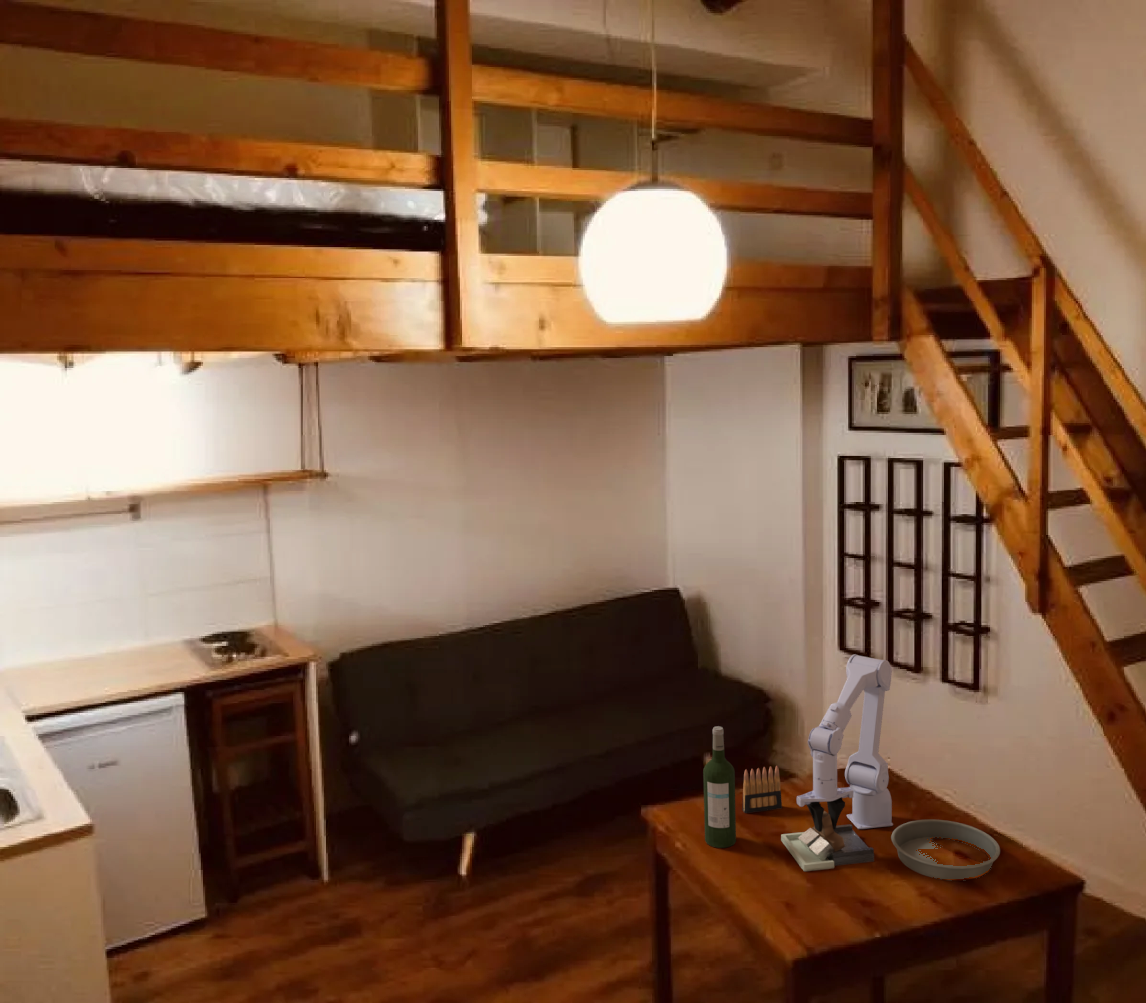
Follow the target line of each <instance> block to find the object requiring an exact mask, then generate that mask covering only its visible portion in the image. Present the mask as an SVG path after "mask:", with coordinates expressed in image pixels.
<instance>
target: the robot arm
mask: <svg viewBox="0 0 1146 1003" xmlns="http://www.w3.org/2000/svg"><path fill="white" fill-rule="evenodd" d="M845 670H846V671H845V674H846V680H845V682H844V684H843V687H842V690H841V691H840V694H839V696H838V699H837V701H836V702H833V703H831V704H830V705H829V707H828V708H827V710H826V711H825V714H824V715H823V717H822V719H821V721H820V723H819V725H818V726H816V727H813V728H812V729H811V730H810V732H809V735H808V740H807V745H808V748H809V750H810V756H811V758H812V790H811V791H808V792H806V793H803V794H801V795H797V796H796V804H797V805H798V806H799V807H801V808H802V807H805V805H806V807H807V809H808V811H809V813H810V814H811V818H812V821H813V825H814V826H815V829H816V830H817V831H818V832H822V817H823V812H824V811H825V808H824V807H823V806H822V804H821V803H823V802H824V803H825V802H826V804H827V809H828V810H827V811H828V812H827V813H828V814H829V815H830V817H831V821H832V826H833V829H836V826H838V825H837V824H838V822H839V821H838V820H839V819H840V815H841V813H842V812H843V810H844V809H845V807H846V801H844V800H843V799H845V798H849V799H852V804H851V807H852V809H851V810H852V811H851V812H852V813H849V814H846V817H847V819H848V820H849V821H851V823H852V824H853V825H854V826H855V827H856V828H857V830H866V829H873V828H874V829H875V828H885V827H892V826H894V823H893V822H892V820H893V819H892V816H893V815H892V811H893V809H892V808H893V806H892V805H893V804H892V802H893V800H892V796H891V792H890V791H889V789H888V788H887V787H888V785H889V782H890V780H889V779H890V777H889V764H888V762H887V761H886V759H884V758H883V757H882V755H880V753H879V752H880V750H879V749H880V742H881V733H882V723H883V714H884V712H883V711H884V704H885V696H886V692H887V691H890V690H891V684H892V683H891V682H892V673H893V667H892V666H891V663H890V662H889V661H888V659H887V660H886V659H880V658H873V657H868V656H863V655H858V654H856V653H855V654H852V655H851V656H850V657H849V658H848V661H847V662H846V667H845ZM863 692H864V693H863ZM862 693H863V694H864V697H863V702H862V703H863V705H862V712H861V713H862V714H861V723H860V733H859V742H858V750H857V751H856V752H854V753H852V754H851V755H849V757H848V760H847V764H846V767H845V770H844V777H845V781H846V784H848V785H849V786H848V787H838V754H839V752H840V750H841V749H842V745H843V744H842V743H843V739H844V736H845V735H844V732H845V730H846V729H847V726H848V724H849V722H850V720H851V718H852V715H853V714H852V712H851V709H852V707H853V706H854V704H855V703H856V701H857V700H858V698H859V697H860V696H861V694H862Z"/></svg>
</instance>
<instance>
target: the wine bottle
mask: <svg viewBox="0 0 1146 1003" xmlns="http://www.w3.org/2000/svg"><path fill="white" fill-rule="evenodd" d="M724 734H725V733H724V728H723V726H719V725H718V726H714V727H713V728H712V757H711V759H710V760H709V761H707V763H706V764H705V765H704V767H703V772H702V774H703V775H702V776H703V809H704V810H703V811H704V814H703V816H704V841H705V843H706V844H707V845H708V846H710V847H713V848H718V849H725V848H729V847H732V846H735V844H736V842H737V829H736V828H737V823H736V822H737V820H736V819H737V818H736V776H735V775H736V774H735V772H736V771H735V768H734V766H733V765H732V764H731V762H730V761H728V759H726V756H725V744H724V743H725V742H724V741H725V739H724V738H725V737H724Z"/></svg>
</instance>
